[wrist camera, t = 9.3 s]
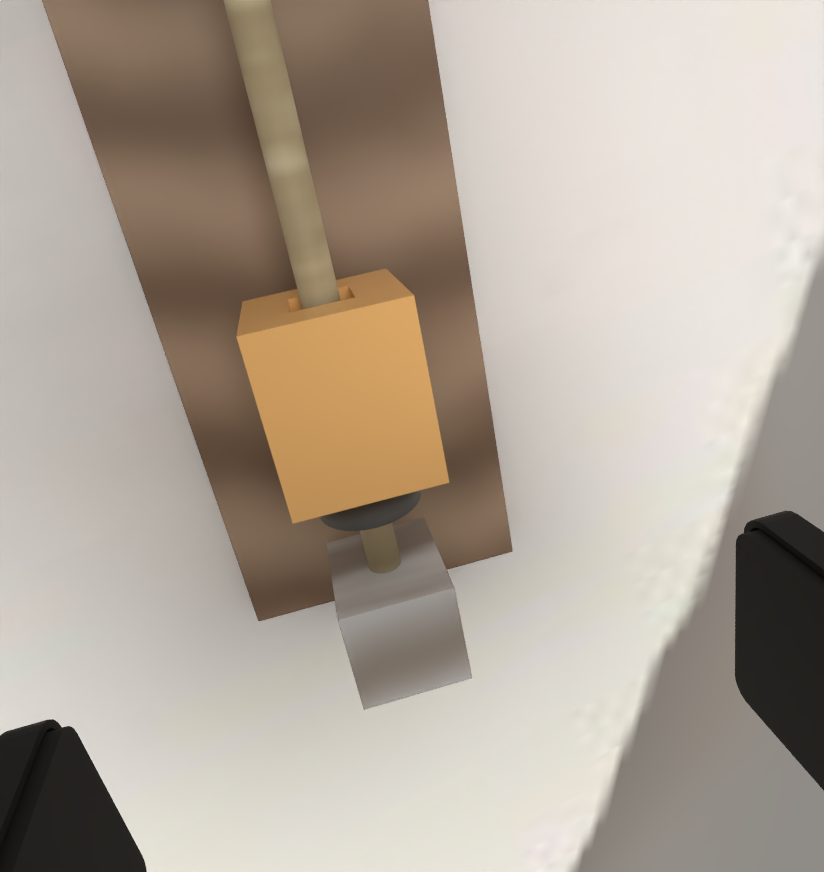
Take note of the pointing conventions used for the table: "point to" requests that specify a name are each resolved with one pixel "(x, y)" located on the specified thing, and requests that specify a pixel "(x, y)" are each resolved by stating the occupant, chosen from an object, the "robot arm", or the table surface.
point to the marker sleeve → (344, 395)
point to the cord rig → (300, 278)
